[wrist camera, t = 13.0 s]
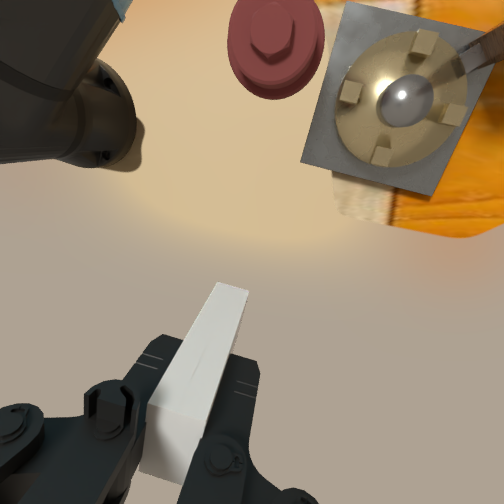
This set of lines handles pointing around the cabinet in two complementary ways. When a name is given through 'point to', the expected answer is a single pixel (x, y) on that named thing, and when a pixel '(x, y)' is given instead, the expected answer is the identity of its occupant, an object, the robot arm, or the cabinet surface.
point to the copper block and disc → (408, 95)
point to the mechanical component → (275, 45)
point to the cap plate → (342, 58)
